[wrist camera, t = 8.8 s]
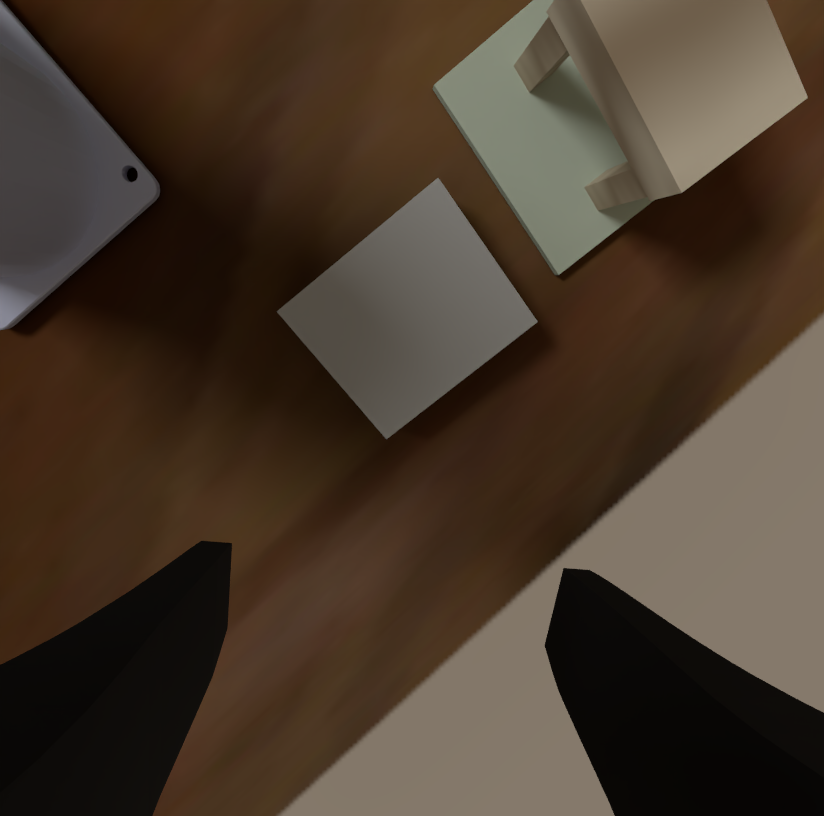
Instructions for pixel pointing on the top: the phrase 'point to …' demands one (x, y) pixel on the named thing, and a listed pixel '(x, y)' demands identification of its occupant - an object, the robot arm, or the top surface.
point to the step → (409, 311)
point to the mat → (537, 141)
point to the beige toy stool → (669, 83)
